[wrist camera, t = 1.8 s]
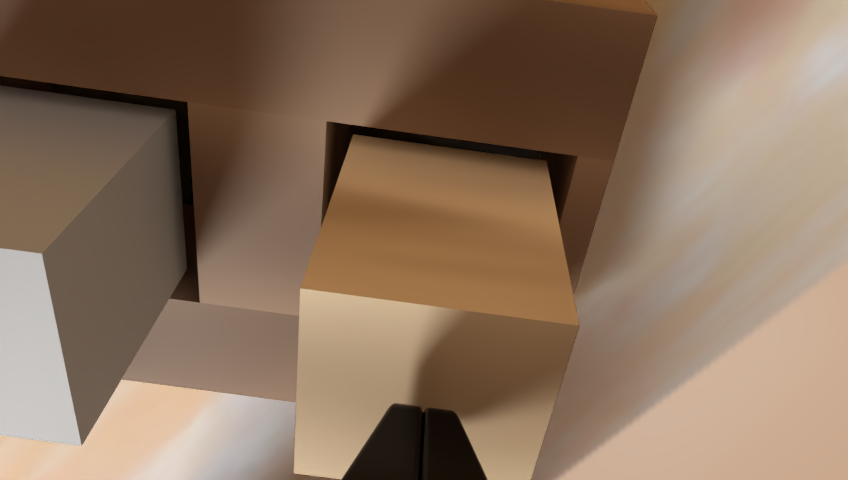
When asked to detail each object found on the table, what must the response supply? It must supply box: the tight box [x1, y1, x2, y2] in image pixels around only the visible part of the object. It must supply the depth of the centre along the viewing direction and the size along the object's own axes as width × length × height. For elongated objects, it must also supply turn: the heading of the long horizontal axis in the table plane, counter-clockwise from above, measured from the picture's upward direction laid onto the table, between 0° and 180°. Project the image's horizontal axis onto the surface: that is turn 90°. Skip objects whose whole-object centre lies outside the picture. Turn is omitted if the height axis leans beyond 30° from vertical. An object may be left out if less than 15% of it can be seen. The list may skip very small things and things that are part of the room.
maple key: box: [294, 134, 579, 480], centre depth 11 cm, size 3×3×4 cm
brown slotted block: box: [0, 0, 657, 402], centre depth 14 cm, size 9×18×4 cm, turn 83°
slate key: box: [0, 85, 187, 446], centre depth 11 cm, size 3×3×4 cm
